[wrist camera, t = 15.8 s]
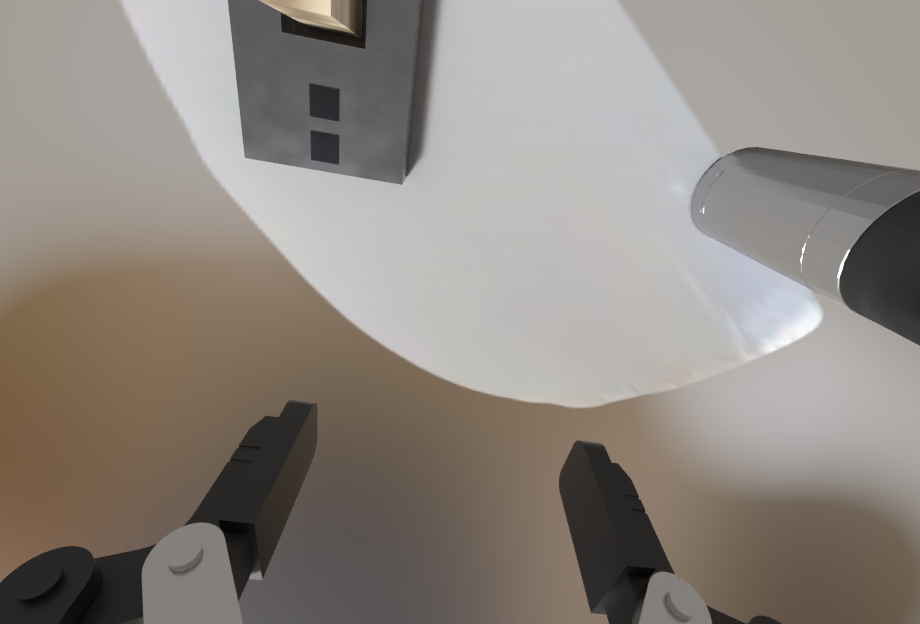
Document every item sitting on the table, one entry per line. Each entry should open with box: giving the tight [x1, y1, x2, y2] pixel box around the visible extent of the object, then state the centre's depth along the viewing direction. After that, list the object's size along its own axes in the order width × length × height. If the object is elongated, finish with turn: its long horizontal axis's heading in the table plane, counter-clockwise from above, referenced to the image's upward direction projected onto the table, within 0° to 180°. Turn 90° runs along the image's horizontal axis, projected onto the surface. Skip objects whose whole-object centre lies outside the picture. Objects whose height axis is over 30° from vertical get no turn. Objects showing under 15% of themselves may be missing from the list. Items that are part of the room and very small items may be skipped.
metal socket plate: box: [228, 0, 422, 184], centre depth 30 cm, size 14×20×3 cm
